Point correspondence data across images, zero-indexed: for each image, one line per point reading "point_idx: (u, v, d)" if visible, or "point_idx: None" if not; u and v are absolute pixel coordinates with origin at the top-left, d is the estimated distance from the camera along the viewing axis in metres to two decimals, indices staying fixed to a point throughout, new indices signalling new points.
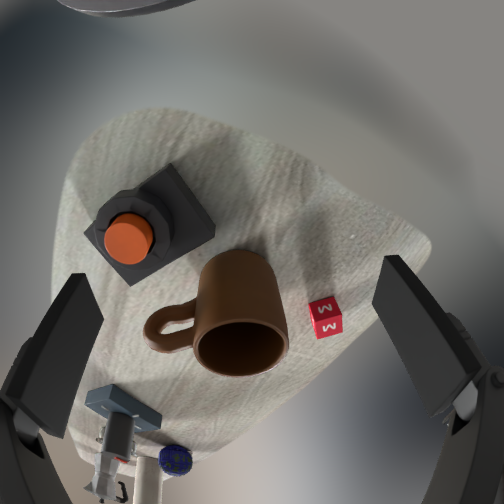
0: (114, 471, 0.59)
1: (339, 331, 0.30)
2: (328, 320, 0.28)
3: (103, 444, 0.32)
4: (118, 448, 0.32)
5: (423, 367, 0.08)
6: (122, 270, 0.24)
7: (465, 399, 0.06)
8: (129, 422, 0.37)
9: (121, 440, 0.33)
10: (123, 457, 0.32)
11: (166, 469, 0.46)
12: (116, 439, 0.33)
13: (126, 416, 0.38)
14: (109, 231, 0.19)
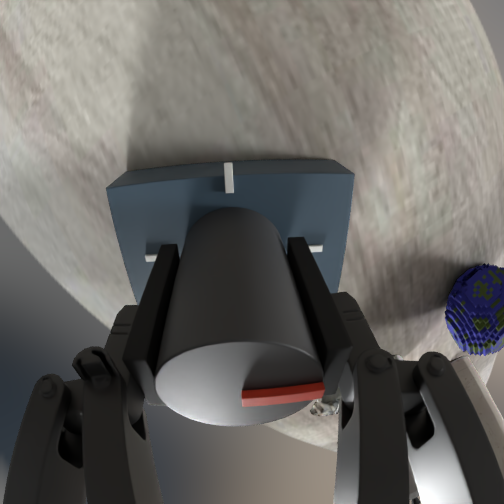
0: None
1: None
2: None
3: None
4: (188, 320, 0.07)
5: None
6: None
7: (345, 381, 0.08)
8: (230, 216, 0.12)
9: (201, 278, 0.09)
10: (248, 355, 0.07)
11: (486, 341, 0.16)
12: (182, 291, 0.09)
13: (213, 213, 0.13)
14: None
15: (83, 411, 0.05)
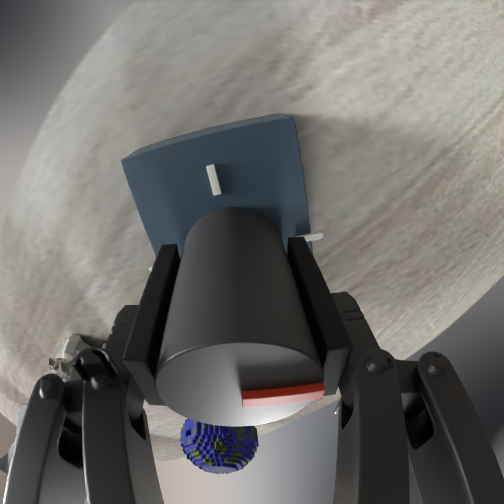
0: None
1: None
2: None
3: None
4: (187, 321, 0.07)
5: None
6: None
7: (345, 381, 0.08)
8: (230, 216, 0.12)
9: (201, 278, 0.09)
10: (248, 356, 0.06)
11: (210, 458, 0.21)
12: (182, 291, 0.09)
13: (213, 213, 0.13)
14: None
15: (83, 411, 0.05)
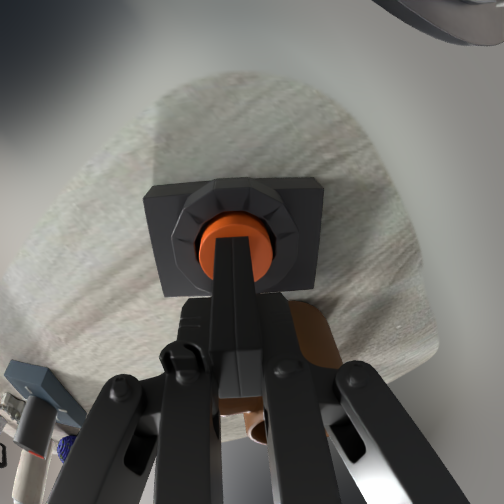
0: None
1: None
2: None
3: None
4: (16, 435, 0.19)
5: None
6: (168, 274, 0.17)
7: (262, 384, 0.08)
8: (33, 402, 0.24)
9: (21, 425, 0.21)
10: (24, 446, 0.19)
11: None
12: (18, 425, 0.21)
13: (31, 397, 0.25)
14: (226, 229, 0.13)
15: (163, 406, 0.06)
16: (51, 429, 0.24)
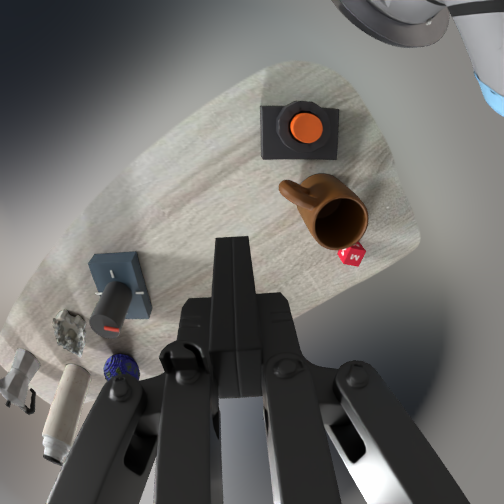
0: (32, 374, 0.54)
1: (357, 264, 0.43)
2: (357, 251, 0.42)
3: None
4: (96, 310, 0.36)
5: None
6: (267, 145, 0.34)
7: (262, 384, 0.08)
8: (114, 285, 0.41)
9: (101, 302, 0.37)
10: (103, 318, 0.35)
11: (113, 376, 0.49)
12: (97, 304, 0.37)
13: (111, 282, 0.41)
14: (305, 115, 0.29)
15: (163, 406, 0.06)
16: (127, 309, 0.41)
